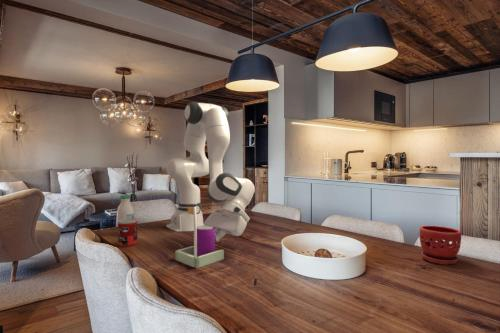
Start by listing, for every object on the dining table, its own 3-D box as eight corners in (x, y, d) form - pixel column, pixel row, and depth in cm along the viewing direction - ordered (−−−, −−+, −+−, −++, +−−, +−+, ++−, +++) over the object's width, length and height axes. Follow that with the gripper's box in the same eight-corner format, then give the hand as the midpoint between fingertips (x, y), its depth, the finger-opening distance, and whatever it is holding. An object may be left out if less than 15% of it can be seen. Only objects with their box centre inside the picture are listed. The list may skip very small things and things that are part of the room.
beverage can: (214, 260, 115) (213, 229, 115) (193, 261, 115) (193, 229, 115) (215, 254, 123) (215, 224, 123) (196, 254, 123) (196, 224, 122)
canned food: (115, 245, 137) (114, 220, 137) (132, 241, 143) (132, 218, 143) (123, 248, 132) (122, 223, 132) (140, 244, 138) (140, 220, 137)
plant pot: (466, 268, 105) (466, 234, 105) (422, 264, 110) (423, 231, 109) (455, 256, 117) (455, 225, 117) (416, 253, 122) (417, 223, 121)
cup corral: (175, 259, 117) (174, 203, 116) (202, 251, 126) (201, 200, 126) (196, 268, 108) (195, 207, 107) (223, 259, 117) (223, 203, 116)
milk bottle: (121, 237, 151) (120, 196, 150) (115, 234, 157) (114, 195, 156) (136, 234, 156) (135, 195, 155) (131, 231, 162) (130, 194, 161)
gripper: (211, 205, 134) (193, 231, 127) (245, 210, 120) (227, 240, 113) (219, 213, 137) (202, 240, 131) (252, 219, 124) (236, 249, 117)
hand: (214, 240), depth 122 cm, fingers closed, pressing on beverage can
